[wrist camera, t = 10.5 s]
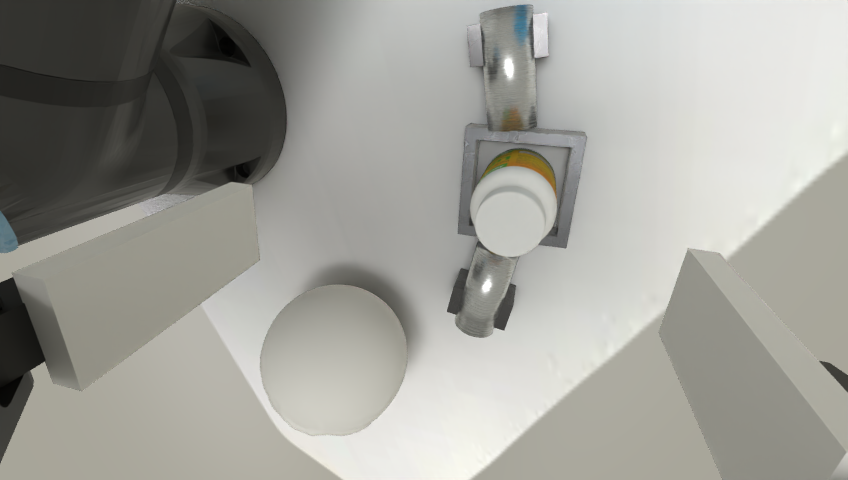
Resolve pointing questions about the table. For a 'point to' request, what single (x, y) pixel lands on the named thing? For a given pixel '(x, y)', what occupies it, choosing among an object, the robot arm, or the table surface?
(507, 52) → the shaft
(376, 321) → the decorative ball
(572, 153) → the collar
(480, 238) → the supplement bottle
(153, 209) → the table surface
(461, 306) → the shaft
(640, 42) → the table surface
